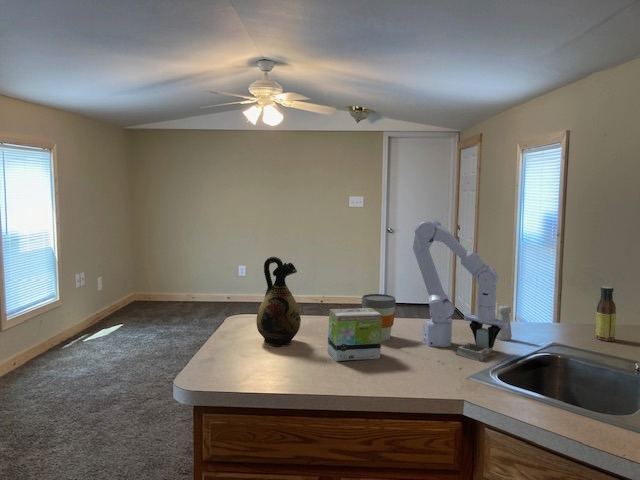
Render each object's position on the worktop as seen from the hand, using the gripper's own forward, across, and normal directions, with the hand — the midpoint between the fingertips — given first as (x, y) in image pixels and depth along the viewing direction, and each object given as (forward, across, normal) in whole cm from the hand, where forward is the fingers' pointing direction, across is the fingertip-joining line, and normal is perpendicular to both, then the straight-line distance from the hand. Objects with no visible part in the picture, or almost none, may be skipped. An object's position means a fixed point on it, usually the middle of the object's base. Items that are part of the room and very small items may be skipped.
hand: (484, 345), depth 161 cm
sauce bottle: (+3, -23, -50) cm, 55 cm away
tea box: (+3, +28, +34) cm, 44 cm away
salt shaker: (+3, +2, -19) cm, 19 cm away
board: (+3, 0, +4) cm, 5 cm away
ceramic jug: (+3, +55, +44) cm, 71 cm away
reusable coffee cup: (+3, +35, +12) cm, 38 cm away
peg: (+2, 0, 0) cm, 2 cm away
